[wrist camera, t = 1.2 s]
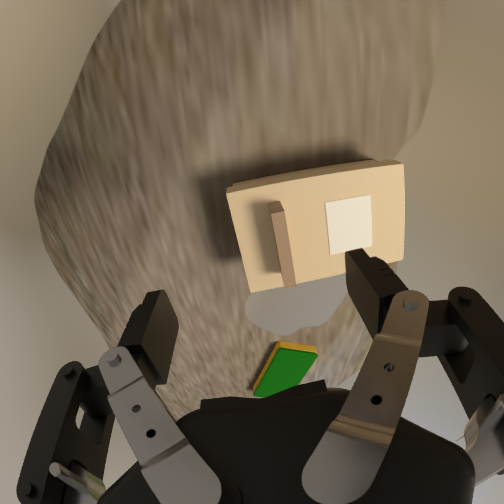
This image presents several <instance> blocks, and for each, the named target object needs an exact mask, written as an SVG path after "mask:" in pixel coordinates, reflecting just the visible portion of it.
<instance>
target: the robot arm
mask: <svg viewBox="0 0 504 504" xmlns="http://www.w3.org/2000/svg"><path fill="white" fill-rule="evenodd" d="M345 269H346V284H347V289H348V293H349V295H350V297H351V299H352V301H353V303H354V305H355V307H356V308H357V310H358V312H359V314H360V316H361V318H362V320H363V322H364V323H365V325H366V327H367V329H368V331H369V333H370V335H371V337H372V339H373V342H372V345H371V347H370V350H369V352H368V354H367V357H366V359H365V361H364V363H363V366H362V368H361V370H360V372H359V374H358V377H357V379H356V381H355V383H354V385H353V387H352V389H351V391H350V390H347V389H341V388H326V384H325V381H324V379H323V380H319V381H315V382H310V383H306V384H301V385H296V386H293V387H290V388H288V389H285V390H283V391H280V392H278V393H275V394H273V395H270V396H268V397H265V398H259V399H258V398H242V397H222V398H213V399H203V400H201V406H200V409H197V410H195V411H193V412H190V413H189V414H187V415H185V416H183V417H182V418H180V419H179V420H178V421H177V420H176V419H175V417H174V416H173V415H172V413H171V412H170V411H169V409H168V408H167V406H166V405H165V404H164V402H163V401H162V399H161V398H160V396H159V395H158V394H157V392H156V391H155V387H156V385H161V384H166V383H167V378H168V373H169V369H170V364H171V360H172V355H173V351H174V346H175V342H176V338H177V333H178V328H179V325H178V319H177V316H176V314H175V312H174V309H173V307H172V305H171V303H170V300H169V298H168V296H167V294H166V292H165V291H164V290H157V291H152V292H148V293H147V294H146V296H145V298H144V300H143V303H142V304H141V305H139V306H138V307H137V308H136V309H135V310H134V311H133V312H132V314H131V316H130V319H129V321H128V323H127V325H126V328H125V330H124V332H123V334H122V337H121V339H120V341H119V344H118V346H117V347H114V348H112V349H110V350H108V351H107V352H105V353H104V354H103V355H102V357H101V358H100V360H99V365H97V366H94V367H91V368H87V369H85V368H84V367H83V366H82V364H81V363H80V362H78V361H72V362H69V363H67V364H66V365H64V366H63V367H62V368H61V369H60V371H59V372H58V374H57V376H56V378H55V380H54V383H53V385H52V387H51V390H50V392H49V395H48V397H47V399H46V402H45V404H44V406H43V409H42V411H41V414H40V416H39V419H38V422H37V424H36V427H35V430H34V432H33V435H32V438H31V441H30V444H29V447H28V450H27V453H26V456H25V459H24V463H23V466H22V469H21V473H20V477H19V480H18V484H17V490H16V491H17V497H18V499H19V501H20V502H21V504H472V498H473V492H474V487H475V486H476V485H478V484H480V483H481V482H483V481H485V480H487V479H488V478H490V477H492V476H493V475H495V474H498V475H502V474H504V322H503V321H502V320H501V319H500V318H499V316H498V315H497V314H496V313H495V312H494V310H493V309H492V308H491V307H490V306H489V304H488V303H487V302H486V301H485V300H484V299H483V298H482V297H481V295H480V294H479V293H478V292H477V291H475V290H474V289H471V288H468V287H456V288H454V289H452V290H451V291H450V293H449V295H448V300H439V301H429V300H428V298H427V297H426V296H425V295H424V294H423V293H421V292H418V291H413V290H408V288H407V287H406V286H405V284H404V283H403V282H402V281H401V280H400V278H399V277H398V276H397V275H396V274H395V273H394V271H393V270H392V269H390V267H389V266H388V264H387V263H386V262H385V261H384V260H382V259H380V258H378V257H376V256H374V257H369V255H368V254H367V253H366V252H365V251H364V249H363V248H359V249H354V250H350V251H346V252H345ZM429 356H437V357H438V359H439V360H440V362H441V364H442V366H443V368H444V370H445V372H446V373H447V375H448V377H449V379H450V381H451V383H452V385H453V387H454V389H455V391H456V393H457V395H458V397H459V399H460V401H461V403H462V405H463V407H464V409H465V412H466V414H467V416H468V418H469V422H468V423H467V425H466V427H465V431H464V437H465V441H466V449H465V450H464V449H463V448H461V447H460V446H458V445H456V444H455V443H453V442H450V441H448V440H446V439H444V438H442V437H440V436H438V435H436V434H434V433H432V432H430V431H428V430H426V429H424V428H422V427H420V426H418V425H416V424H414V423H412V422H410V421H408V420H406V419H405V418H403V417H401V413H402V410H403V408H404V405H405V401H406V398H407V395H408V392H409V388H410V385H411V382H412V379H413V375H414V372H415V368H416V364H417V360H418V357H429ZM79 406H80V407H81V408H82V409H83V411H84V416H83V419H82V423H81V426H80V429H78V428H77V425H76V421H75V420H76V415H77V412H78V409H79ZM115 417H116V419H117V421H118V423H119V425H120V427H121V429H122V431H123V433H124V435H125V437H126V439H127V441H128V443H129V445H130V447H131V449H132V451H133V453H134V454H135V456H136V458H137V460H138V461H137V462H136V463H135V464H134V465H133V466H132V467H131V468H130V469H129V470H128V471H127V472H125V473H124V474H123V475H122V476H121V477H120V478H119V479H118V480H117V481H116V482H115V483H114V484H113V485H112V486H111V487H110V488H108V489H107V490H106V488H105V485H104V483H103V482H102V480H103V474H104V469H105V463H106V458H107V453H108V447H109V443H110V437H111V433H112V428H113V423H114V420H115Z"/></svg>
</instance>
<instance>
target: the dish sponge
mask: <svg viewBox="0 0 504 504" xmlns="http://www.w3.org/2000/svg"><path fill="white" fill-rule="evenodd" d="M317 357H318V355H317V351H316V348H315V347H314V346H307V345H301V344H295V343H289V342H283V341H279V342H277V343H276V345H275V347H274V349H273V351H272V353H271V355H270V357H269V359H268V360H267V362H266V364H265V366H264V368H263V370H262V372H261V373H260V375H259V377H258V379H257V381H256V383H255V384H254V386H253V395H254V396H257V397H268V396H270V395H273V394H275V393H278V392H280V391H283V390H285V389H288V388H290V387H293V386H296V385H298V384H299V383H300V382H301V380H302V379H303V377H304V376H305V374H306V373H307V372H308V370H309V369H310V367H311V366H312V364H313V363H314V361H315V360H316V358H317Z"/></svg>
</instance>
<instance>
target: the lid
mask: <svg viewBox="0 0 504 504" xmlns="http://www.w3.org/2000/svg"><path fill="white" fill-rule="evenodd" d="M226 196H227V200H228V204H229V208H230V212H231V216H232V220H233V224H234V228H235V232H236V236H237V240H238V244H239V248H240V252H241V256H242V260H243V264H244V268H245V272H246V276H247V280H248V283H249V287H250V291H251V293H252V292H257V291H262V290H267V289H272V288H277V287H283V286H284V288H289V287H294V286H296V284H297V283H302V282H307V281H311V280H316V279H321V278H325V277H330V276H335V275H339V274H343V273H346V269H345V252H346V251H350V250H354V249H359V248H363V249H364V251H365V252H366V253H367V254H368V255H369V257H374V256H376V257H378V258H380V259H382V260H384V261H385V262H386V263H391V262H395V261H399V260H403V252H404V226H405V190H404V165H403V163H400V162H398V161H396V160H384V161H376V162H368V163H361V164H354V165H347V166H340V167H333V168H327V169H321V170H315V171H309V172H303V173H297V174H292V175H286V176H281V177H275V178H270V179H265V180H260V181H255V182H250V183H246V184H241V185H236V186H232V187H227V191H226Z"/></svg>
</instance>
